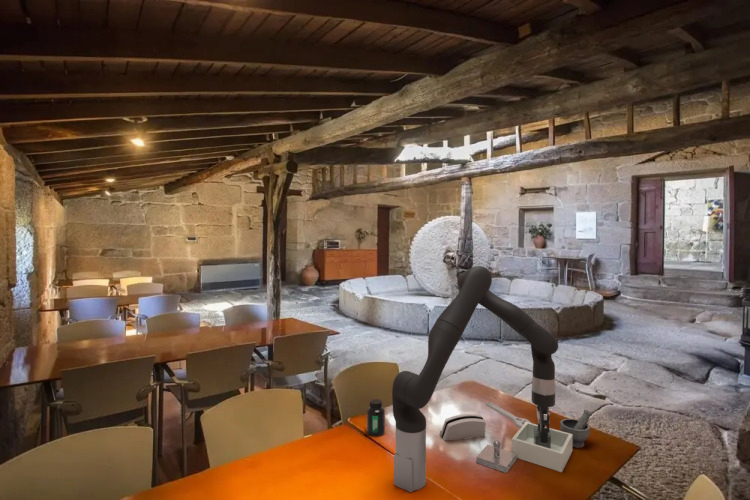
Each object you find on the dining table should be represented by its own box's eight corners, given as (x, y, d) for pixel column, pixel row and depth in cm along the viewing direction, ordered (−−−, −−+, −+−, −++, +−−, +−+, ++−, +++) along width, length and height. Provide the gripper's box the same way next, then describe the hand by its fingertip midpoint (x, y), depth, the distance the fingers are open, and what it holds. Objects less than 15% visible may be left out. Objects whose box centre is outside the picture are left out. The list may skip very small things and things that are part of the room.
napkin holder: (479, 429, 159) (483, 409, 155) (484, 439, 154) (489, 418, 151) (438, 434, 155) (442, 413, 151) (443, 444, 151) (446, 423, 147)
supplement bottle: (377, 438, 152) (377, 406, 151) (363, 433, 156) (363, 402, 155) (388, 431, 157) (388, 400, 157) (374, 426, 161) (374, 396, 161)
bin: (562, 472, 130) (562, 453, 130) (511, 456, 140) (511, 438, 139) (572, 451, 143) (572, 434, 143) (525, 437, 153) (525, 421, 152)
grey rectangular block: (535, 453, 140) (535, 432, 140) (533, 446, 145) (533, 426, 144) (550, 454, 139) (550, 434, 138) (548, 447, 143) (548, 428, 143)
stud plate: (506, 473, 130) (506, 452, 129) (476, 462, 136) (476, 442, 135) (516, 459, 138) (516, 439, 137) (487, 450, 144) (487, 430, 143)
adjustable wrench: (484, 405, 182) (484, 401, 182) (497, 404, 184) (497, 400, 184) (521, 430, 159) (521, 426, 159) (535, 428, 161) (535, 424, 161)
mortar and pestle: (569, 450, 143) (569, 416, 143) (554, 437, 153) (555, 405, 152) (599, 448, 145) (599, 415, 144) (582, 436, 154) (583, 404, 154)
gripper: (530, 381, 149) (529, 425, 149) (533, 396, 135) (532, 444, 135) (552, 383, 146) (551, 428, 147) (558, 398, 133) (557, 448, 133)
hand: (542, 436), depth 141 cm, fingers open, 8 cm apart
